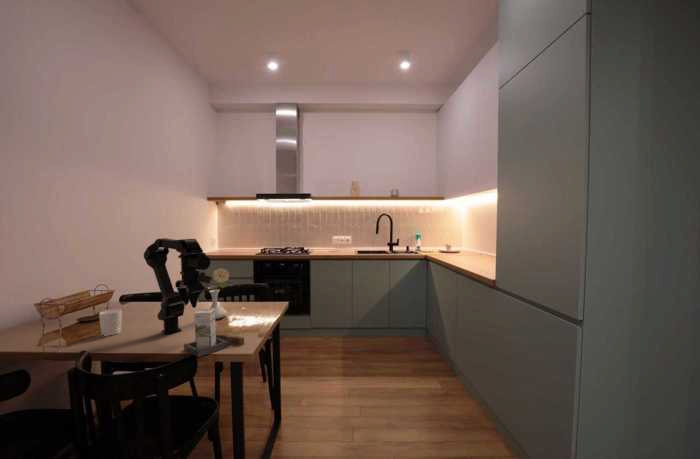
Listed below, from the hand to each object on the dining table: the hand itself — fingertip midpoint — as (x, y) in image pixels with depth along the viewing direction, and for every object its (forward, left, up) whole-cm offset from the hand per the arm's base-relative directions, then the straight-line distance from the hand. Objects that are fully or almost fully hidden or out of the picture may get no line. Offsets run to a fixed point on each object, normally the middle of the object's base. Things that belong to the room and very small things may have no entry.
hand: (190, 305), depth 129 cm
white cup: (-32, -23, -13) cm, 42 cm away
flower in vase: (-19, +18, -13) cm, 29 cm away
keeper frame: (+18, -1, -13) cm, 22 cm away
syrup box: (+18, -1, -13) cm, 22 cm away
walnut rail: (+16, +7, -13) cm, 22 cm away
